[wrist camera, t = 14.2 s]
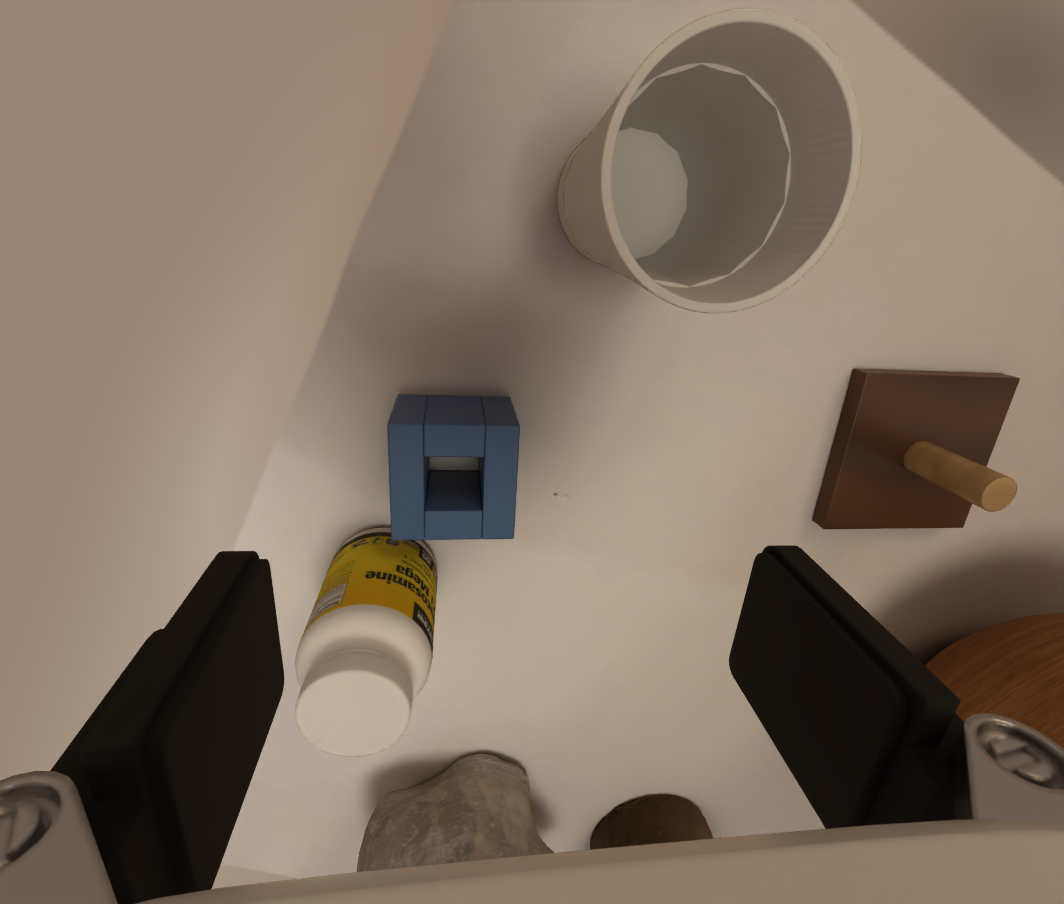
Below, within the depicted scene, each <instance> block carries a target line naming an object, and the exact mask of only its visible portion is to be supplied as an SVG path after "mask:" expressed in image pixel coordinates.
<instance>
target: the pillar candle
mask: <svg viewBox="0 0 1064 904" xmlns="http://www.w3.org/2000/svg"><path fill="white" fill-rule="evenodd" d="M703 839H713V837H712V834H711V831H710V829H709V827H708V824H707V822H706V819H705V817H704V816H703V815H702V814H701V812H700V811H699V810H698V809H697V808H696V807H695V806H694V805H692V804H691V803H690V802H688V801H686V800H684V799H682V798H679V797H673V796H669V795H667V796H662V795H658V796H650V797H645V798H641V799H639V800H637V801H634V802H631V803H627V804H625V805H622V806H620V807H618V808H617V809H615V810H613V811H612V812H611V813H610V814H609V815H608V816H607V817H606V818H605V819H604V820H603V821H602V822H601V823H600V824H599V826H598V827H597V829H596V830H595V832H594V834H593V836H592V840H591V846H590V847H591V850H594V849H604V848H615V847H626V846H637V845H648V844H659V843H670V842H681V841H692V840H703Z"/></svg>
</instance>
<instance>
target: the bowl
mask: <svg viewBox="0 0 1064 904" xmlns="http://www.w3.org/2000/svg"><path fill="white" fill-rule="evenodd" d="M925 667H926V668H927V669H929V670H930V671H931V672H932V673H933V674H934V675H935V676H936V677H937V678H938V679H939V680H940V681H941V682H942V683H943V684H944V685H945V686H946V687H947V688H949V689H950V690H951V691H952V692H953V693H954V694H955V695H956V696H957V697H958V698H959V699H960V700H961V701H960V703H959V705H958V708H957V710H956V712H955V713H956V714H957V715H958V716H959V717H960V718H961V719H962V720H963V721H964V722H965V720H966V719H968V718H969V717H970V716H971V715H974V714H981V713H988V714H995V715H1001V716H1004V717H1007V718H1010V719H1013V720H1016V721H1019V722H1021V723H1023V724H1025V725H1027V726H1029V727H1031V728H1034V729H1035V730H1037V731H1039V732H1040V733H1042V734H1044V735H1045V736H1047V737H1048V738H1050V739H1052V740H1053V741H1054V742H1056V743H1057V744H1058V745H1059V746H1061V747H1062V748H1063V749H1064V613H1057V614H1047V615H1037V616H1031V617H1025V618H1020V619H1015V620H1011V621H1007V622H1003V623H1000V624H996V625H993V626H990V627H987V628H984V629H982V630H979V631H977V632H975V633H972V634H970V635H968V636H966V637H964V638H962V639H960V640H958V641H957V642H955V643H953V644H952V645H950V646H948V647H947V648H945V649H944V650H943V651H941V652H940V653H939V654H937V655H936V656H935V657H934V658H932V659H931V660H930V661H929V662H928V663H927V664H926V665H925Z"/></svg>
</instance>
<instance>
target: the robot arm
mask: <svg viewBox="0 0 1064 904" xmlns="http://www.w3.org/2000/svg"><path fill="white" fill-rule="evenodd" d="M729 665H730V670H731V673H732V675H733V677H734V679H735V680H736V682H737V684H738V685H739V687H740V689H741V690H742V692H743V694H744V695H745V697H746V698H747V700H748V702H749V703H750V705H751V707H752V708H753V710H754V712H755V713H756V715H757V717H758V718H759V720H760V721H761V723H762V725H763V726H764V728H765V730H766V731H767V733H768V735H769V736H770V738H771V739H772V741H773V743H774V744H775V746H776V748H777V749H778V751H779V753H780V754H781V756H782V757H783V759H784V761H785V762H786V764H787V766H788V767H789V769H790V771H791V772H792V774H793V776H794V777H795V779H796V780H797V782H798V784H799V785H800V787H801V789H802V790H803V792H804V794H805V795H806V797H807V798H808V800H809V802H810V803H811V805H812V807H813V808H814V810H815V812H816V813H817V815H818V816H819V818H820V820H821V821H822V823H823V825H824V826H825V828H826V829H820V830H808V831H796V832H785V833H773V834H761V835H749V836H738V837H726V838H715V839H703V840H692V841H681V842H670V843H659V844H648V845H637V846H626V847H615V848H604V849H594V850H583V851H572V852H561V853H550V854H539V855H529V856H518V857H508V858H498V859H487V860H477V861H467V862H457V863H446V864H436V865H426V866H416V867H405V868H395V869H385V870H374V871H364V872H354V873H344V874H336V875H327V876H318V877H310V878H301V879H292V880H284V881H275V882H267V883H258V884H250V885H240V886H232V887H224V888H217V889H212V886H213V883H214V880H215V878H216V875H217V872H218V869H219V867H220V864H221V861H222V859H223V856H224V853H225V850H226V848H227V845H228V842H229V839H230V837H231V834H232V831H233V828H234V826H235V823H236V820H237V817H238V815H239V812H240V809H241V806H242V804H243V801H244V798H245V795H246V793H247V790H248V787H249V784H250V782H251V779H252V776H253V773H254V771H255V768H256V765H257V762H258V760H259V757H260V754H261V751H262V749H263V746H264V743H265V740H266V738H267V735H268V732H269V729H270V727H271V724H272V721H273V718H274V716H275V713H276V710H277V707H278V705H279V702H280V699H281V696H282V692H283V687H284V670H283V663H282V655H281V647H280V640H279V632H278V624H277V616H276V609H275V601H274V593H273V586H272V578H271V570H270V564H269V561H268V560H267V559H259V556H258V554H257V553H256V552H255V551H222V552H219V553H218V554H217V555H216V557H215V558H214V559H213V561H212V562H211V564H210V565H209V566H208V568H207V569H206V570H205V572H204V573H203V575H202V576H201V578H200V579H199V580H198V582H197V583H196V585H195V586H194V587H193V589H192V590H191V592H190V593H189V594H188V596H187V597H186V599H185V600H184V601H183V603H182V604H181V606H180V607H179V609H178V610H177V611H176V613H175V614H174V615H173V617H172V618H171V620H170V621H169V623H168V624H167V625H166V627H165V628H164V629H160V630H157V631H155V632H153V633H152V635H151V636H150V637H149V638H148V639H147V640H146V641H145V643H144V644H143V645H142V647H141V648H140V649H139V651H138V652H137V654H136V655H135V656H134V658H133V659H132V661H131V662H130V663H129V664H128V666H127V667H126V669H125V670H124V671H123V673H122V674H121V675H120V677H119V678H118V680H117V681H116V682H115V684H114V685H113V686H112V688H111V689H110V690H109V692H108V693H107V694H106V696H105V697H104V699H103V700H102V701H101V703H100V704H99V705H98V707H97V708H96V709H95V711H94V712H93V713H92V715H91V716H90V718H89V719H88V720H87V722H86V723H85V724H84V726H83V727H82V728H81V730H80V731H79V733H78V734H77V735H76V737H75V738H74V739H73V741H72V742H71V743H70V745H69V746H68V747H67V749H66V750H65V752H64V753H63V754H62V756H61V757H60V758H59V760H58V761H57V763H56V764H55V765H54V767H53V768H52V769H51V771H33V772H29V773H24V774H19V775H15V776H11V777H9V778H6V779H3V780H1V781H0V904H1064V749H1063V748H1062V747H1061V746H1059V745H1058V744H1057V743H1056V742H1054V741H1053V740H1052V739H1050V738H1048V737H1047V736H1045V735H1044V734H1042V733H1040V732H1039V731H1037V730H1035V729H1034V728H1031V727H1029V726H1027V725H1025V724H1023V723H1021V722H1019V721H1016V720H1013V719H1010V718H1007V717H1004V716H1001V715H995V714H988V713H981V714H974V715H971V716H970V717H969V718H968V719H966V720H965V722H964V721H963V720H962V719H961V718H960V717H959V716H958V715H957V714H956V713H955V712H956V710H957V708H958V705H959V703H960V701H961V700H960V699H959V698H958V697H957V696H956V695H955V694H954V693H953V692H952V691H951V690H950V689H949V688H947V687H946V686H945V685H944V684H943V683H942V682H941V681H940V680H939V679H938V678H937V677H936V676H935V675H934V674H933V673H932V672H931V671H930V670H929V669H927V668H926V667H925V666H924V665H923V664H922V663H921V662H920V661H919V660H918V659H917V658H916V657H915V656H914V655H913V654H912V653H911V652H910V651H908V650H907V649H906V648H905V647H904V646H903V645H902V644H901V643H900V642H899V641H898V640H897V639H896V638H895V637H894V636H893V635H892V634H891V633H889V632H888V631H887V630H886V629H885V628H884V627H883V626H882V625H881V624H880V623H879V622H878V621H877V620H876V619H875V618H874V617H873V616H872V615H870V614H869V613H868V612H867V611H866V610H865V609H864V608H863V607H862V606H861V605H860V604H859V603H858V602H857V601H856V600H855V599H854V598H853V597H852V596H850V595H849V594H848V593H847V592H846V591H845V590H844V589H843V588H842V587H841V586H840V585H839V584H838V583H837V582H836V581H835V580H834V579H833V578H831V577H830V576H829V575H828V574H827V573H826V572H825V571H824V570H823V569H822V568H821V567H820V566H819V565H818V564H817V563H816V562H815V561H814V560H812V559H811V558H810V557H809V556H808V555H807V554H806V553H805V552H804V551H803V550H802V549H801V548H799V547H798V546H767V547H766V548H765V549H764V550H763V552H762V553H759V554H758V555H757V556H756V557H755V560H754V564H753V567H752V571H751V575H750V579H749V583H748V587H747V591H746V594H745V598H744V602H743V606H742V610H741V614H740V618H739V621H738V625H737V629H736V633H735V637H734V641H733V644H732V648H731V652H730V657H729Z"/></svg>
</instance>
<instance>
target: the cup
mask: <svg viewBox="0 0 1064 904" xmlns="http://www.w3.org/2000/svg"><path fill="white" fill-rule="evenodd" d="M861 152H862V132H861V121H860V114H859V109H858V104H857V100H856V96H855V93H854V90H853V87H852V84H851V82H850V80H849V77H848V75H847V73H846V71H845V69H844V67H843V65H842V64H841V62H840V60H839V59H838V57H837V56H836V55H835V53H834V52H833V51H832V49H831V48H830V47H829V46H828V45H827V43H826V42H825V41H824V40H823V39H822V38H821V37H820V36H819V35H817V34H816V33H815V32H814V31H813V30H811V29H810V28H808V27H807V26H805V25H804V24H802V23H801V22H799V21H797V20H795V19H793V18H791V17H789V16H786V15H783V14H781V13H777V12H774V11H769V10H764V9H755V8H740V9H731V10H725V11H721V12H717V13H713V14H710V15H707V16H704V17H702V18H700V19H697V20H695V21H693V22H691V23H689V24H688V25H686V26H684V27H682V28H681V29H679V30H678V31H676V32H675V33H673V34H672V35H671V36H669V37H668V38H667V39H665V40H664V41H663V42H662V43H661V44H660V45H659V46H657V47H656V48H655V49H654V50H653V51H652V52H651V53H650V54H649V55H648V57H647V58H646V59H645V60H644V61H643V62H642V64H641V65H640V66H639V67H638V69H637V70H636V71H635V73H634V74H633V76H632V77H631V79H630V80H629V81H628V83H627V84H626V86H625V87H624V89H623V90H622V91H621V93H620V94H619V96H618V97H617V99H616V100H615V101H614V103H613V104H612V106H611V107H610V109H609V110H608V111H607V112H606V114H605V115H604V116H603V118H602V119H601V120H600V122H599V123H598V124H597V126H596V127H595V128H594V129H593V131H592V132H591V133H590V135H589V136H588V137H587V139H586V140H584V141H583V142H582V143H581V144H580V145H579V146H578V147H577V148H576V149H575V151H574V152H573V153H572V155H571V156H570V158H569V159H568V161H567V163H566V165H565V167H564V169H563V172H562V175H561V178H560V182H559V187H558V198H557V202H558V212H559V217H560V221H561V224H562V227H563V230H564V232H565V234H566V236H567V237H568V239H569V241H570V242H571V243H572V245H573V246H574V247H575V248H576V249H577V250H578V251H579V252H580V253H581V254H582V255H584V256H585V257H586V258H588V259H590V260H592V261H594V262H596V263H599V264H602V265H605V266H607V267H608V268H610V269H612V270H614V271H616V272H617V273H619V274H621V275H623V276H625V277H626V278H628V279H630V280H632V281H633V282H635V283H636V284H638V285H640V286H641V287H643V288H644V289H646V290H648V291H649V292H651V293H652V294H654V295H656V296H657V297H659V298H661V299H662V300H664V301H666V302H668V303H670V304H672V305H675V306H677V307H680V308H683V309H686V310H690V311H695V312H702V313H728V312H735V311H740V310H744V309H747V308H751V307H754V306H756V305H759V304H761V303H764V302H766V301H768V300H770V299H772V298H774V297H776V296H777V295H779V294H781V293H782V292H784V291H785V290H787V289H788V288H790V287H791V286H792V285H794V284H795V283H796V282H797V281H799V280H800V279H801V278H802V277H803V276H804V275H805V274H806V273H807V272H808V271H809V270H810V269H811V268H812V267H813V266H814V265H815V264H816V263H817V262H818V260H819V259H820V258H821V257H822V256H823V254H824V253H825V252H826V250H827V249H828V247H829V246H830V244H831V243H832V241H833V240H834V238H835V236H836V235H837V233H838V231H839V229H840V227H841V225H842V224H843V222H844V219H845V217H846V215H847V213H848V210H849V207H850V205H851V202H852V199H853V196H854V193H855V189H856V185H857V181H858V176H859V170H860V163H861Z"/></svg>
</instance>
